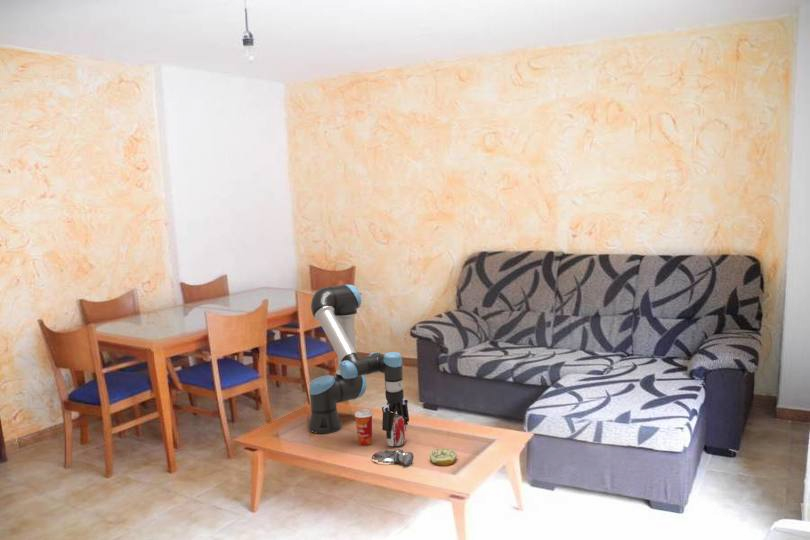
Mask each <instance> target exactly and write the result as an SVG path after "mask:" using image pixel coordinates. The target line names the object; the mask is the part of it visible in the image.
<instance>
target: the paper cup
mask: <svg viewBox="0 0 810 540" xmlns="http://www.w3.org/2000/svg"><path fill="white" fill-rule="evenodd" d="M373 414H374V413H373V412H372V410H371V409H369V408H362V409H361V408H360V409H358V410H356V411H355V412H354V416H355V423H356V431H357V440H358V444H359V446H363V447H364V446H370V445H372V443H373Z"/></svg>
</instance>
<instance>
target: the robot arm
mask: <svg viewBox="0 0 810 540" xmlns="http://www.w3.org/2000/svg"><path fill="white" fill-rule="evenodd" d="M361 304H362V297H361V294H360V291H359V289H358V288H357V287H356V286H355V285H353V284H340V285H334V286H326V287H322V288H320V289H318V290H317V291H316V292H315V293H314V294H313V296H312V298H311V301H310V310H311V314H312V316H313V318H314V320H315V321H316V322H318V323H319V324H320V326H321V328H322V329H323V331H324V333H325V334H326V335H325V336H326V337H327V339H328V340H329V343H330V344H331V346H332V348H333V349H334V352H335V353H336V355H337V362H338V363H337V364H338V366H337V367H338V369H336V371H335V376H334V375H330V374H329V375H322V376H318V377H315V378H314V379H312V380H311V382H310V383H309V401H310V411H311V413H310V417H309V422H308V424H307V425H308V427H307V428H308V431H309V430H310V431H313V432H316V433H315V434H318V433H324V434H330V432H331V433H334V432H337V431H339V430H341V428H342V420H341V418H340V415H339V412H338V408H337V404H339V403H340V404H341V403H343V402H348V401H351V400H356V399H358V398H362V396H364V394H365V393H366V390H367V380H366V375H371V374H375V373H382V374H384V389H385V393H384V394H385V400H386V406H382V407H381V411H382V427H381V429H382V431H384V432H386V433H385V434H386V439H387V446H390V447H395V446H394V441H393V431H392V425H393V419H394V415H395V414H398V415H402V417H403V419H404V426H405V441H406V439H407V438H406V434H407V433H406V432H407V426H408V424H409V422H410V416H409V409H408V407H409V406H408V401H409V400H408V399H405V398H404V378H403V377H404V376H403V374H404V373H403V358H402V354H401V352H396V351H391V352H390V351H389V352H386V353H382V352H377V351H376V352H375V351H374V352H373V351H372V352H371V353H370V354H368V355H366V356H362V357H361V356H359V355H358V353H357V346H356V344H357V343H356V333H355V331H356V330H355V318H354V317H355V316H356V315H357V314H358V313H357V311H358V310H357V309H359V308H360V307H361ZM310 431H309V432H310Z"/></svg>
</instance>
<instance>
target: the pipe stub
mask: <svg viewBox="0 0 810 540" xmlns="http://www.w3.org/2000/svg"><path fill="white" fill-rule="evenodd" d="M394 451H395V453H394V461H395V462H397V463H398V464H400V463H403V465H405V466H408V467H409V465H410V466H411V465H412V463H413V462H414V454H413V453H412V452H411V451H404V450H403V449H402V448H401V449H400V448H398V449H396V450H394ZM397 463H396V464H397Z"/></svg>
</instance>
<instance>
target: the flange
mask: <svg viewBox="0 0 810 540" xmlns="http://www.w3.org/2000/svg"><path fill="white" fill-rule="evenodd" d="M395 451H396V450H392V449H391V450H388V449H385V450H381V451H377V452H375V453H374V454H372V455H371V460H372V459H374V460H378V462H383V463H394V464H396V463H395V461H394V453H395Z"/></svg>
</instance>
